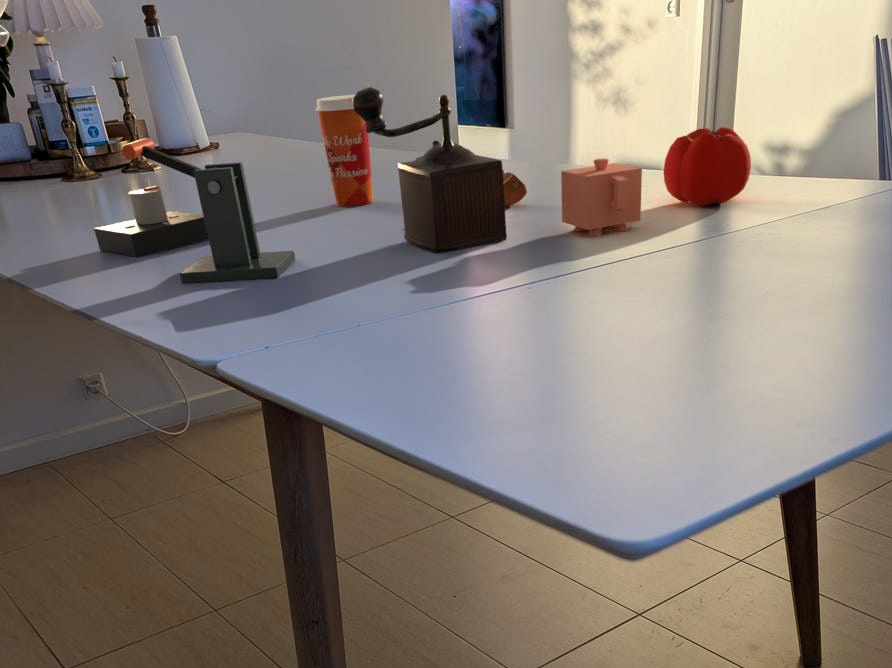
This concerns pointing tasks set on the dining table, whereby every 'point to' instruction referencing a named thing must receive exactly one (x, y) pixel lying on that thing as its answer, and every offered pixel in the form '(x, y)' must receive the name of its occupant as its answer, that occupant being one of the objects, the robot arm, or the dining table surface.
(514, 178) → the bread roll
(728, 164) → the tomato
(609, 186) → the pink cube teapot
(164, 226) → the dial panel
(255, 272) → the switch bracket
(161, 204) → the knob
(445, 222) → the brown coffee grinder
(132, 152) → the lever
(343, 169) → the coffee cup
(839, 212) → the dining table surface
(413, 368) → the dining table surface
